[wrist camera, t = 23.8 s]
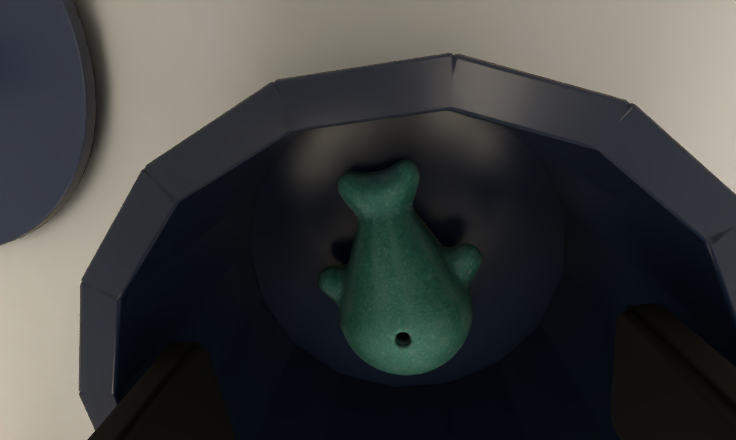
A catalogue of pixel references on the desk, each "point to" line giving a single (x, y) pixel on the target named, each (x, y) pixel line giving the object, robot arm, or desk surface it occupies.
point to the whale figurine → (399, 277)
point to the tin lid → (42, 111)
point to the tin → (449, 225)
